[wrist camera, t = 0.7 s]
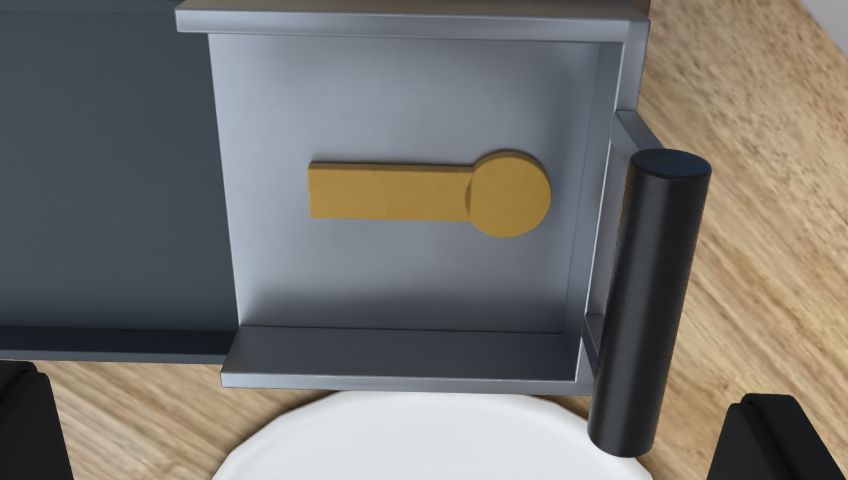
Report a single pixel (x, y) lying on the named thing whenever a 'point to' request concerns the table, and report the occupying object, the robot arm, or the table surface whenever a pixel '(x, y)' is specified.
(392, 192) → the key
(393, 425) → the plate
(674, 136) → the table surface
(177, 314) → the tray
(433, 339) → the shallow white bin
